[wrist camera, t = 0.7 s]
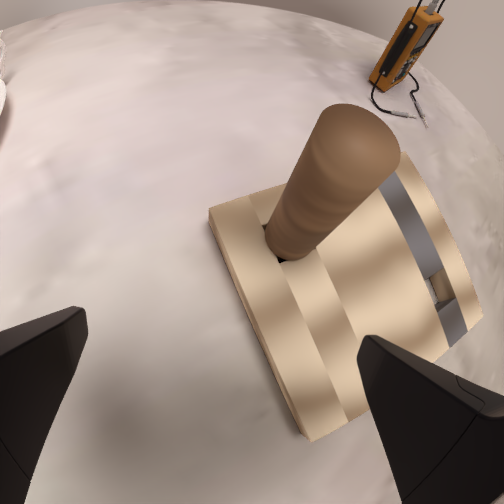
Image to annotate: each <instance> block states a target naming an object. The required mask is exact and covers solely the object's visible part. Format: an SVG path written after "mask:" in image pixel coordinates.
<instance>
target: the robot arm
mask: <svg viewBox="0 0 504 504" xmlns="http://www.w3.org/2000/svg"><path fill="white" fill-rule="evenodd" d="M87 337H88V326H87V319H86V312H85V310H84V308H81V307H76V306H71V307H69V308H66V309H63V310H60V311H57V312H54V313H51V314H49V315H46V316H43V317H40V318H37V319H34V320H32V321H29V322H26V323H23V324H20V325H17V326H15V327H12V328H9V329H6V330H3V331H1V332H0V504H24V502H25V499H26V496H27V492H28V489H29V486H30V483H31V482H30V481H31V479H32V476H33V473H34V470H35V467H36V465H37V462H38V459H39V456H40V454H41V451H42V448H43V446H44V443H45V440H46V438H47V435H48V433H49V430H50V428H51V425H52V423H53V421H54V418H55V416H56V414H57V411H58V409H59V407H60V404H61V402H62V400H63V398H64V395H65V393H66V391H67V389H68V387H69V385H70V382H71V380H72V378H73V376H74V374H75V371H76V368H77V365H78V362H79V359H80V357H81V354H82V351H83V348H84V346H85V343H86V340H87ZM356 360H357V365H358V369H359V373H360V377H361V380H362V384H363V388H364V392H365V396H366V399H367V402H368V405H369V407H370V410H371V413H372V416H373V418H374V421H375V424H376V427H377V429H378V432H379V435H380V438H381V441H382V444H383V446H384V449H385V452H386V455H387V458H388V461H389V464H390V467H391V470H392V473H393V476H394V479H395V482H396V486H397V489H398V492H399V495H400V498H401V501H402V504H504V396H503V395H500V394H498V393H495V392H493V391H490V390H488V389H486V388H483V387H481V386H479V385H476V384H474V383H472V382H470V381H468V380H466V379H463V378H461V377H459V376H457V375H455V374H453V373H451V372H449V371H447V370H445V369H443V368H441V367H439V366H437V365H435V364H433V363H431V362H429V361H427V360H425V359H423V358H421V357H419V356H417V355H415V354H413V353H411V352H409V351H407V350H405V349H403V348H401V347H399V346H397V345H396V344H394V343H392V342H390V341H388V340H386V339H384V338H382V337H380V336H378V335H365V336H364V338H363V340H362V342H361V345H360V348H359V351H358V354H357V359H356Z"/></svg>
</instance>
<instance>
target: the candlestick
mask: <svg viewBox="0 0 504 504" xmlns="http://www.w3.org/2000/svg"><path fill="white" fill-rule="evenodd" d="M2 32H3V30H1V31H0V36H1V34H2ZM0 49H1V55H0V115H1V112H2V109H3V107H4V103H5V99H6V85H5V83H4V81H3V80H1V79H2V77H3V76H4V73H5V67H4V60H5V56H6V45H5V43H4V42H3V41H2V40H1V39H0Z"/></svg>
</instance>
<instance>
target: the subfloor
mask: <svg viewBox="0 0 504 504" xmlns="http://www.w3.org/2000/svg"><path fill="white" fill-rule="evenodd" d="M400 153H401V158H400V163H399V166H398V167H397V169H396V170H395V171H394V172H393V173H392V174H391V175H390V176H389V177H388V178H387V179H386V180H385V181H384V182H383V183H382V184H381V185H380V186H379V187H378V188H377V189H376V190H375V191H374V192H373V193H372V194H371V195H370V196H369V197H368V198H367V199H366V200H365V201H364V202H363V203H362V204H361V205H360V206H359V207H357V208H356V209H355V210H354V211H353V212H352V213H351V214H350V215H349V216H348V217H347V218H346V219H345V220H344V221H343V222H342V223H341V224H340V225H339V226H338V227H337V228H336V229H335V230H334V231H332V232H331V233H330V234H329V235H328V236H327V237H326V238H325V239H324V240H323V241H322V242H321V243H320V244H319V245H318V246H316V247H315V248H314V249H313V250H312V251H311V252H310V253H309V254H308V255H307V256H305V257H304V258H302V259H299V260H287V261H285V262H282V263H280V264H279V262H278V260H277V257H276V255H275V254H274V253H273V252H272V251H271V250H270V248H269V247H268V245H267V242H266V239H265V229H266V226H267V224H268V221H269V219H270V217H271V215H272V213H273V211H274V209H275V207H276V205H277V203H278V201H279V199H280V197H281V195H282V193H283V191H284V189H285V187H286V185H287V183H286V184H282V185H279V186H276V187H272V188H269V189H266V190H263V191H260V192H256V193H253V194H250V195H247V196H244V197H241V198H238V199H235V200H232V201H229V202H226V203H223V204H220V205H217V206H214V207H211V208H209V224H210V226H211V229H212V231H213V234H214V236H215V238H216V241H217V243H218V246H219V248H220V251H221V253H222V255H223V258H224V260H225V263H226V265H227V267H228V270H229V272H230V275H231V277H232V279H233V282H234V284H235V286H236V289H237V291H238V294H239V296H240V298H241V301H242V303H243V305H244V308H245V310H246V312H247V315H248V317H249V319H250V321H251V324H252V326H253V328H254V331H255V333H256V335H257V338H258V340H259V342H260V344H261V347H262V349H263V351H264V353H265V356H266V358H267V360H268V362H269V365H270V367H271V369H272V371H273V374H274V376H275V378H276V380H277V382H278V385H279V387H280V389H281V391H282V393H283V396H284V398H285V400H286V402H287V404H288V406H289V409H290V411H291V413H292V415H293V417H294V419H295V421H296V424H297V426H298V428H299V430H300V432H301V434H302V435H303V436H304V437H306V438H307V439H308V440H309V441H310V442H311V443H312V442H314V441H316V440H318V439H320V438H322V437H324V436H325V435H327V434H329V433H331V432H333V431H334V430H336V429H338V428H340V427H341V426H343V425H345V424H347V423H348V422H350V421H352V420H353V419H355V418H356V417H358V416H360V415H361V414H363V413H364V412H366V411H368V410H369V409H370V407H369V405H368V402H367V399H366V396H365V392H364V388H363V384H362V380H361V377H360V373H359V369H358V365H357V360H356V359H357V354H358V351H359V348H360V345H361V342H362V340H363V338H364V336H365V335H378V336H380V337H382V338H384V339H386V340H388V341H390V342H392V343H394V344H396V345H397V346H399V347H401V348H403V349H405V350H407V351H409V352H411V353H413V354H415V355H417V356H419V357H421V358H423V359H425V360H427V361H429V362H431V363H433V362H434V361H435V360H437V359H438V358H439V357H440V356H441V355H442V354H444V353H445V352H446V351H447V350H448V349H449V348H450V347H452V346H453V345H454V344H455V343H456V342H457V341H458V340H459V339H460V338H461V337H462V336H463V335H465V334H466V333H467V332H468V331H469V330H470V329H471V328H472V327H473V326H474V325H475V324H476V323H477V322H478V321H479V320H480V319H481V318H482V317H483V313H482V309H481V306H480V304H479V301H478V298H477V295H476V292H475V289H474V287H473V284H472V281H471V279H470V276H469V274H468V271H467V269H466V266H465V264H464V261H463V259H462V257H461V254H460V252H459V250H458V248H457V245H456V243H455V241H454V239H453V237H452V234H451V232H450V230H449V228H448V226H447V224H446V222H445V220H444V218H443V216H442V214H441V212H440V210H439V208H438V206H437V204H436V203H435V201H434V199H433V197H432V195H431V193H430V192H429V190H428V188H427V186H426V185H425V183H424V181H423V179H422V178H421V176H420V174H419V173H418V171H417V169H416V168H415V166H414V164H413V163H412V161H411V160H410V158H409V156H408V155H407V153H406V152H405V151H404V152H400ZM428 278H430V281H431V283H432V285H433V288H434V290H435V293H436V295H437V298H438V300H439V302H438V303H437V304H436V305H434V303H433V301H432V298H431V296H430V293H429V291H428V288H427V286H426V284H425V280H426V279H428Z"/></svg>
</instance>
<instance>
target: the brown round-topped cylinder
mask: <svg viewBox="0 0 504 504" xmlns="http://www.w3.org/2000/svg"><path fill="white" fill-rule="evenodd" d="M400 158H401V153H400V147H399V144H398V141H397V139H396V137H395V135H394V134H393V132H392V131H391V129H390V128H389V127H388V126H387V125H386V124H385V123H384V122H383V121H382V120H381V119H380V118H379V117H378V116H376V115H375V114H373V113H372V112H370V111H368V110H366V109H364V108H362V107H359V106H356V105H352V104H335V105H332V106H329V107H327V108H326V109H325V110H323V112H322V113H321V115H320V117H319V119H318V121H317V123H316V125H315V127H314V129H313V131H312V133H311V135H310V137H309V139H308V141H307V143H306V145H305V148H304V150H303V152H302V154H301V156H300V158H299V160H298V162H297V164H296V166H295V168H294V170H293V172H292V174H291V176H290V178H289V180H288V182H287V185H286V187H285V189H284V191H283V193H282V195H281V197H280V199H279V201H278V203H277V205H276V207H275V209H274V211H273V213H272V215H271V217H270V219H269V221H268V224H267V226H266V229H265V239H266V242H267V245H268V247H269V248H270V250H271V251H272V252H273V253H274V254H275V255H276V256H277V257H280V258H282V259H285V260H299V259H302V258H304V257H305V256H307V255H308V254H309V253H310V252H311V251H312V250H313V249H314V248H315V247H316V246H318V245H319V244H320V243H321V242H322V241H323V240H324V239H325V238H326V237H327V236H328V235H329V234H330V233H331V232H332V231H334V230H335V229H336V228H337V227H338V226H339V225H340V224H341V223H342V222H343V221H344V220H345V219H346V218H347V217H348V216H349V215H350V214H351V213H352V212H353V211H354V210H355V209H356V208H357V207H359V206H360V205H361V204H362V203H363V202H364V201H365V200H366V199H367V198H368V197H369V196H370V195H371V194H372V193H373V192H374V191H375V190H376V189H377V188H378V187H379V186H380V185H381V184H382V183H383V182H384V181H385V180H386V179H387V178H388V177H389V176H390V175H391V174H392V173H393V172H394V171H395V170H396V169H397V167H398V166H399V163H400Z"/></svg>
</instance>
